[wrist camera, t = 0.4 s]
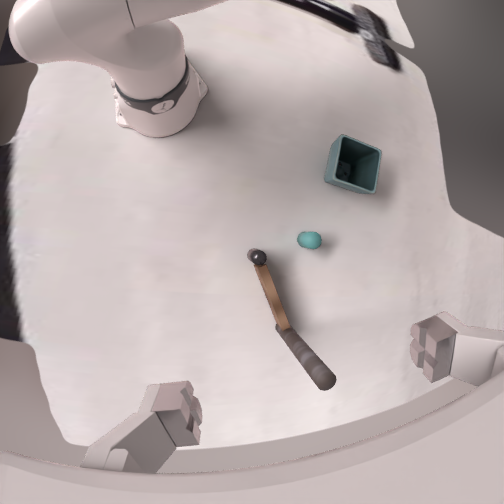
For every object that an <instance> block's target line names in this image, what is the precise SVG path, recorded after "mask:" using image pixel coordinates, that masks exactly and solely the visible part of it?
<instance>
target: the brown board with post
mask: <svg viewBox="0 0 504 504" xmlns="http://www.w3.org/2000/svg"><path fill="white" fill-rule="evenodd" d="M254 267H255V270H256V272H257V275H258V277H259V280H260V282H261V285H262V287H263V290H264V292H265V295H266V298H267V300H268V303H269V305H270V308H271V310H272V313H273V315H274V318H275V320H276V323H277V324H276V330H277V332H278V333H279V334H280V336H281V337H282V339H283V340H284V341H285V343H286V344H287V346H288V347H289V348H290V350H291V351H292V352H293V354H294V355H295V357H296V358H297V359H298V361H299V362H300V364H301V365H302V366H303V368H304V369H305V370H306V372H307V373H308V374H309V376H310V377H311V379H312V380H313V381H314V383H315V384H316V385H317V387H318V388H319V389H320V390H324V391H325V390H329V389H331V388H332V387H333V386H334V385H335V383H336V376H335V375H334V374H333V372H332V371H331V370H330V369H329V368H328V367H327V366H326V365H325V364H324V363H323V361H322V360H321V359H320V358H319V357H318V356H317V355H316V354H315V353H314V352H313V350H312V349H311V348H310V347H309V346H308V345H307V344H306V343H305V342H304V340H303V339H302V338H301V337H300V336H299V335H298V334H297V333H296V332H295V330H294V329H293V328H292V327H291V326H290V325H289V322H288V320H287V317H286V315H285V312H284V309H283V307H282V304H281V302H280V299H279V296H278V294H277V291H276V288H275V286H274V283H273V281H272V278H271V275H270V273H269V270H268V268H267V265H266V264H262V265H256V264H255V265H254Z"/></svg>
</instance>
